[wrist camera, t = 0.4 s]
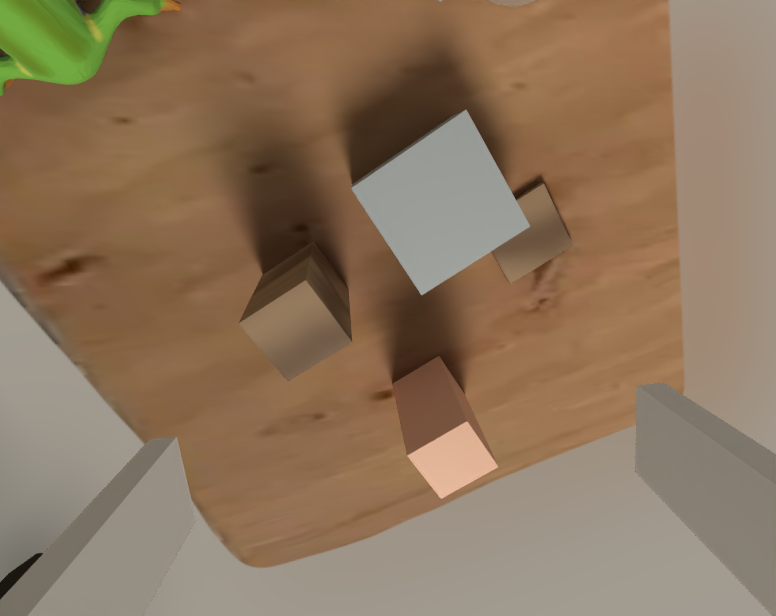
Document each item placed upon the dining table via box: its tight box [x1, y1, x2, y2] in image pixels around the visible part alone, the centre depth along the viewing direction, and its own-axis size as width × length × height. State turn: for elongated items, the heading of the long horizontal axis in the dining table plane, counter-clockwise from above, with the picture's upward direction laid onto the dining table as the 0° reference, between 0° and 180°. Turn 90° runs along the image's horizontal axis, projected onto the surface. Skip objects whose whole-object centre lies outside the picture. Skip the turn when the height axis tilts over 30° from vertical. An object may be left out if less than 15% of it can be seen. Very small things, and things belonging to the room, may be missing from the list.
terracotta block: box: [392, 356, 498, 499], centre depth 39 cm, size 5×5×10 cm
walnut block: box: [239, 241, 352, 381], centre depth 34 cm, size 5×5×10 cm
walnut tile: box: [491, 183, 573, 284], centre depth 39 cm, size 6×6×1 cm
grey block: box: [351, 110, 530, 295], centre depth 34 cm, size 9×9×5 cm
